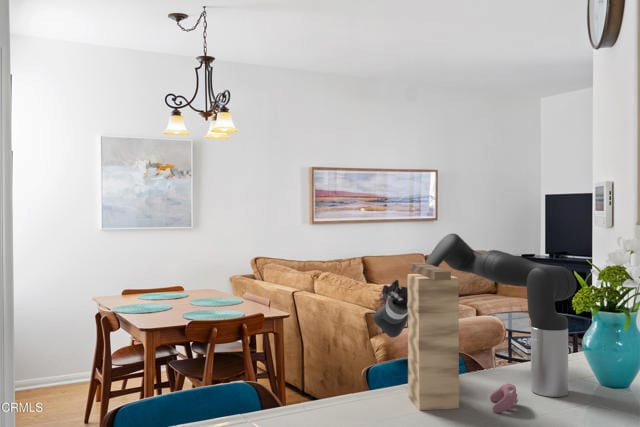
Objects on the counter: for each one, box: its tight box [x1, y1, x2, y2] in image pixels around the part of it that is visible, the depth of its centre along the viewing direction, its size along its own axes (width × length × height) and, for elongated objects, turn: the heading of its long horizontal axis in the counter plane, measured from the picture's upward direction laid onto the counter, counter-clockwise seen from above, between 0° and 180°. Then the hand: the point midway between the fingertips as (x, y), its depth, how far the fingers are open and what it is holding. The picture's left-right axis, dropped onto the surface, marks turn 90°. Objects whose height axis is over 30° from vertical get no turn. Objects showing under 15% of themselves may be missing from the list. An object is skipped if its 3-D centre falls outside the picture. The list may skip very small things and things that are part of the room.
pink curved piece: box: [489, 382, 519, 414], centre depth 149 cm, size 10×5×7 cm, turn 169°
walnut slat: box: [408, 262, 452, 280], centre depth 155 cm, size 22×4×2 cm, turn 7°
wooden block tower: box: [407, 273, 460, 411], centre depth 153 cm, size 10×10×32 cm
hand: (412, 282), depth 171 cm, fingers open, 8 cm apart
